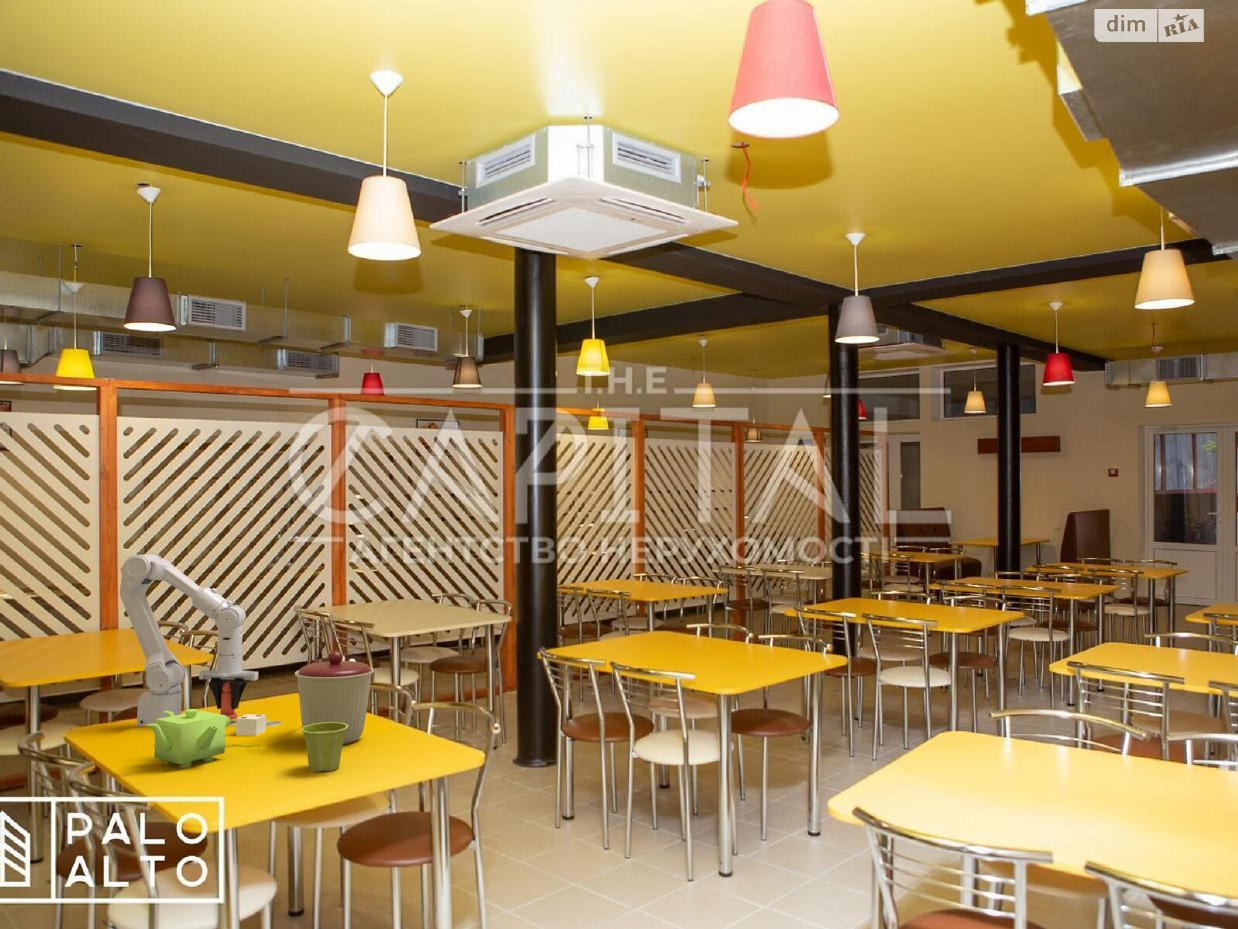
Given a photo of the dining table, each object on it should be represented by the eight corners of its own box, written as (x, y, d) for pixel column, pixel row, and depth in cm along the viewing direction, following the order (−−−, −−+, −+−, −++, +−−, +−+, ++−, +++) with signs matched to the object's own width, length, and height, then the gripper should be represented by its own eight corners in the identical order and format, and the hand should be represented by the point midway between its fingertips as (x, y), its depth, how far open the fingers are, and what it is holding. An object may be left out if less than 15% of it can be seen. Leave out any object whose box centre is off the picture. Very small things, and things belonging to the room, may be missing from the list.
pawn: (213, 720, 227) (215, 683, 227) (223, 716, 231) (224, 679, 232) (231, 720, 226) (232, 683, 227) (240, 716, 231) (241, 680, 231)
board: (186, 729, 226) (186, 725, 226) (201, 722, 233) (201, 718, 233) (275, 731, 224) (275, 727, 224) (288, 724, 231) (288, 720, 231)
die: (235, 740, 216) (236, 718, 216) (245, 735, 221) (246, 714, 221) (255, 740, 215) (256, 719, 216) (265, 735, 220) (266, 714, 221)
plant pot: (324, 777, 185) (325, 734, 186) (290, 771, 190) (291, 729, 190) (356, 766, 194) (357, 725, 194) (323, 760, 198) (324, 720, 198)
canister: (359, 728, 227) (361, 644, 229) (382, 744, 212) (384, 653, 213) (285, 737, 218) (287, 649, 219) (303, 754, 202) (306, 659, 204)
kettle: (143, 773, 187) (145, 718, 188) (158, 756, 201) (159, 705, 201) (221, 768, 191) (223, 714, 192) (231, 752, 205) (232, 701, 205)
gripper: (193, 656, 226) (191, 711, 225) (249, 657, 225) (247, 712, 224) (208, 651, 233) (206, 705, 232) (262, 653, 232) (261, 706, 231)
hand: (227, 708), depth 229 cm, fingers closed on pawn, 3 cm apart
